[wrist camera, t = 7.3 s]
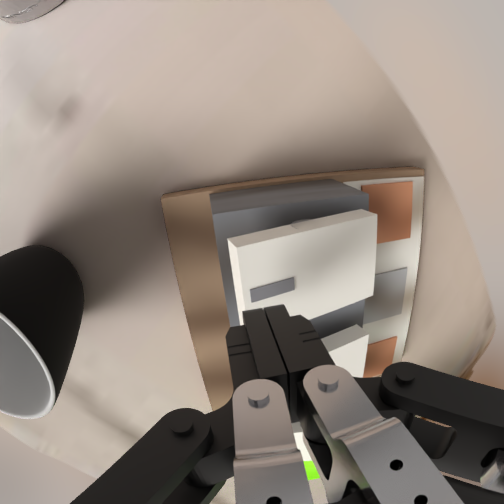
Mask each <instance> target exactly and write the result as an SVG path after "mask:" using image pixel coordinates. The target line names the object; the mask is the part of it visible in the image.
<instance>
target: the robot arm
mask: <svg viewBox="0 0 504 504" xmlns="http://www.w3.org/2000/svg"><path fill="white" fill-rule="evenodd" d="M63 1H64V0H0V19H1V20H4V21H6V22H8V23H23V22H27V21H30V20H33V19H36V18H38V17H40V16H42V15H44V14H46V13H48V12H49V11H51V10H52V9H53V8H55V7H56V6H58V5H59V4H60V3H62V2H63ZM242 316H243V323H244V325H240V326H234V327H230V328H229V330H228V332H227V334H226V336H225V338H226V344H227V351H228V357H229V364H230V370H231V376H232V382H233V394H232V397H231V398H230V400H229V401H228V402H227V403H226V404H225V405H224V406H222V407H221V408H219V409H217V410H215V411H213V412H210V413H208V414H203V413H202V412H200V411H198V410H196V409H191V408H181V409H176V410H173V411H171V412H169V413H167V414H166V415H165V416H163V417H162V418H161V419H160V420H159V421H158V422H157V423H156V424H155V425H154V426H153V427H152V428H151V429H150V430H149V431H148V432H147V433H146V434H145V435H144V436H143V437H142V438H141V439H140V440H139V441H138V442H137V443H136V444H135V445H134V446H132V447H131V448H130V449H129V450H128V451H127V452H126V453H125V454H124V455H123V456H122V457H121V458H120V459H119V460H118V461H117V462H116V463H114V464H113V465H112V466H111V467H110V468H109V469H108V470H107V471H106V472H105V473H104V474H103V475H101V476H100V477H99V478H98V479H97V480H96V481H95V482H94V483H93V484H92V485H90V486H89V487H88V488H87V489H86V490H85V491H84V492H82V493H81V494H80V495H79V496H78V497H77V498H76V499H75V500H73V501H72V502H71V503H70V504H209V503H210V502H211V501H212V499H213V498H214V497H215V496H216V494H217V493H218V492H219V490H220V489H221V488H222V487H223V485H224V484H225V482H226V480H227V479H228V478H231V477H233V476H234V483H235V498H236V504H314V503H313V499H312V495H311V491H310V487H309V482H308V478H307V474H306V470H305V466H304V461H303V457H302V454H301V451H300V449H298V448H297V445H296V441H295V437H294V433H293V428H292V424H291V423H296V422H300V424H301V427H302V430H303V433H302V438H303V442H304V444H305V447H306V449H307V451H308V453H309V455H310V457H311V459H312V461H313V463H314V466H315V468H316V470H317V472H318V474H319V476H320V478H321V480H322V482H323V485H324V487H325V491H326V497H327V501H328V504H504V390H501V389H498V388H495V387H491V386H487V385H484V384H480V383H476V382H473V381H469V380H466V379H463V378H459V377H456V376H452V375H449V374H446V373H442V372H439V371H436V370H433V369H429V368H426V367H423V366H420V365H417V364H413V363H410V362H397V363H393V364H391V365H389V366H388V367H386V368H385V369H384V371H383V373H382V376H381V377H366V378H360V377H353V376H352V375H351V374H350V373H349V372H348V371H347V370H346V369H344V368H342V367H339V366H336V365H335V363H334V361H333V359H332V358H331V356H330V354H329V352H328V351H327V349H326V347H325V346H324V344H323V342H322V340H321V339H320V337H319V335H318V333H317V332H316V330H315V328H314V327H313V325H312V323H311V321H309V320H308V319H306V318H305V317H303V316H302V315H296V316H290V315H289V313H288V311H287V309H286V307H285V305H284V304H280V305H275V306H269V307H264V308H258V309H252V310H246V311H242ZM415 415H418V416H421V417H424V418H427V419H430V420H433V421H436V422H439V423H443V424H446V425H449V426H451V427H444V426H441V425H438V424H435V423H432V422H429V421H426V420H423V419H420V418H417V417H415ZM440 471H442V472H445V473H449V474H452V475H455V476H459V477H462V478H465V479H469V480H472V481H476V482H480V483H481V486H482V487H479V486H476V485H472V484H469V483H466V482H463V481H460V480H457V479H454V478H451V477H448V476H444V475H442V474H441V472H440Z"/></svg>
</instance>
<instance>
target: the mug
mask: <svg viewBox="0 0 504 504" xmlns="http://www.w3.org/2000/svg"><path fill="white" fill-rule="evenodd" d="M83 306H84V295H83V288H82V284H81V280H80V278H79V275H78V273H77V271H76V270H75V268H74V267H73V265H72V264H71V263H70V262H69V261H68V260H67V258H65V257H64V256H63V255H62V254H60V253H59V252H57V251H55V250H53V249H51V248H48V247H44V246H27V247H23V248H20V249H17V250H14V251H11V252H9V253H7V254H5V255H3V256H1V257H0V412H3V413H5V414H7V415H10V416H13V417H17V418H23V419H35V418H40V417H43V416H45V415H46V414H48V413H49V412H50V411H51V410H52V408H53V406H54V405H55V403H56V400H57V398H58V396H59V393H60V390H61V387H62V384H63V382H64V379H65V376H66V373H67V370H68V367H69V363H70V360H71V357H72V354H73V350H74V347H75V344H76V340H77V336H78V332H79V328H80V324H81V319H82V314H83Z"/></svg>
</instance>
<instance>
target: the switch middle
mask: <svg viewBox="0 0 504 504" xmlns="http://www.w3.org/2000/svg"><path fill="white" fill-rule="evenodd" d="M368 338H369V334H368V333H367V332H366V331H365V330H363V329H362V328H361V327H360V326H358V325H357V324H356V325H354V326H351V327H349V328H346V329H344V330H342V331H339V332H337V333H334V334H332V335H329V336H327V337H325V338H322V339H321V340H322V342H323V344H324V346H325V347H326V349H327V351H328V352H329V354H330V356H331V358H332V359H333V361H334V363H335V365H336V366H339V367H342V368H344V369H346V370H347V371H348V372H349V373H350V374H351V375H352V376H353V377H360V378H363V373H364V367H365V360H366V353H367V346H368Z"/></svg>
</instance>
